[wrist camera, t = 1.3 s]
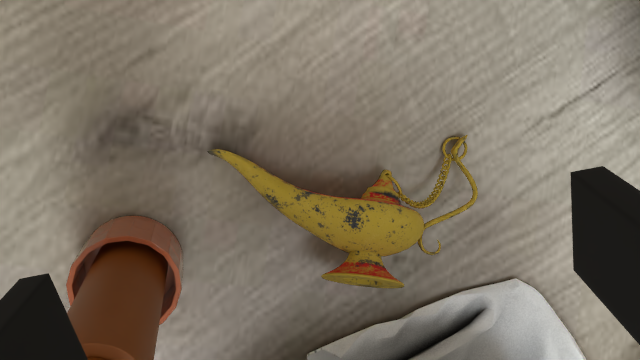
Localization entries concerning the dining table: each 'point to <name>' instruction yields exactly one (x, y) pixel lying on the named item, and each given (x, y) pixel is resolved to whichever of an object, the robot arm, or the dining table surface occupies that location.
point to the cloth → (466, 330)
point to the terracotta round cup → (138, 232)
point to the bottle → (120, 302)
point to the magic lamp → (356, 217)
